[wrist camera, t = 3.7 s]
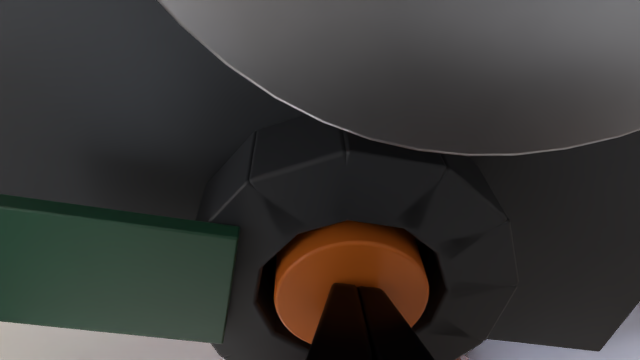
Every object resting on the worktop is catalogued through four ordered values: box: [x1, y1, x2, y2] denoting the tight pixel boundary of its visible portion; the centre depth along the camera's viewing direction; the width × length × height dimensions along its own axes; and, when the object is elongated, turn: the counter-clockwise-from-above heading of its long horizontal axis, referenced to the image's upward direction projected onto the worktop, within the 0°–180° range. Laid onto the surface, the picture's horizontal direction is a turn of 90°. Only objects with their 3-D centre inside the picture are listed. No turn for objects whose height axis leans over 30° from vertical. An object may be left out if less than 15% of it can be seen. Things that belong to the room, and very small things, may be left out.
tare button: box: [274, 220, 429, 344], centre depth 9 cm, size 3×3×2 cm
